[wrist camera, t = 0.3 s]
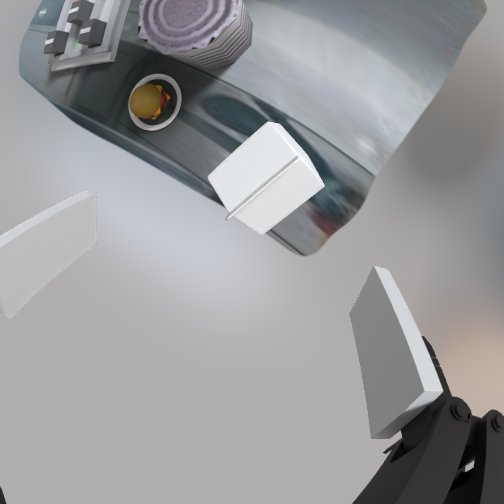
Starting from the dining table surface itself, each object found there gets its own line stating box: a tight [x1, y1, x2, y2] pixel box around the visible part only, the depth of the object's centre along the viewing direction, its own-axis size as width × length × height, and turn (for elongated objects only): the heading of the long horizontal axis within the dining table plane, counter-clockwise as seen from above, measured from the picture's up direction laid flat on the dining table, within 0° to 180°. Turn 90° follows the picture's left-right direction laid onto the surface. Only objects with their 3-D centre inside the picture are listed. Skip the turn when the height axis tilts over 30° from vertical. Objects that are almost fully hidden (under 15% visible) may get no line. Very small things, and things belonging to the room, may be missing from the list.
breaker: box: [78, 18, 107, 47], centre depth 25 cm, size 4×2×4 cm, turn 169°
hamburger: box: [128, 74, 182, 131], centre depth 32 cm, size 12×12×6 cm
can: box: [138, 0, 253, 70], centre depth 23 cm, size 11×11×12 cm
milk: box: [208, 122, 324, 235], centre depth 26 cm, size 6×6×22 cm
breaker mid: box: [66, 0, 94, 26], centre depth 23 cm, size 4×2×4 cm, turn 169°
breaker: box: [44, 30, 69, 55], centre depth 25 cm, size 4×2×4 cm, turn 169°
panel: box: [48, 0, 131, 71], centre depth 25 cm, size 20×15×3 cm
